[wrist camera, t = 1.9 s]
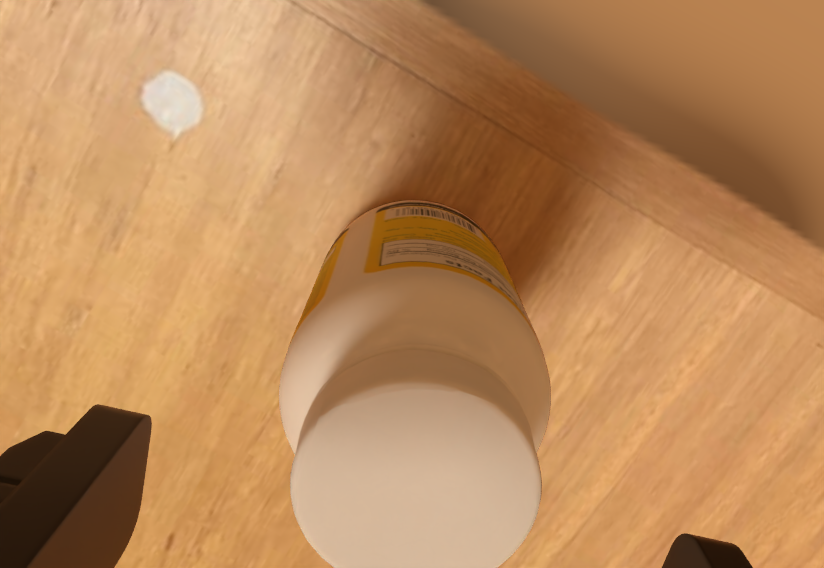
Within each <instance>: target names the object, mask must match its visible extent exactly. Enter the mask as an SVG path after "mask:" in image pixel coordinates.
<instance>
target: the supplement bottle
mask: <svg viewBox="0 0 824 568" xmlns="http://www.w3.org/2000/svg"><path fill="white" fill-rule="evenodd" d="M279 405H280V413H281V419H282V424H283V427H284V431H285V434H286V437H287V439H288V442H289V444H290V446H291V448H292V450H293V452H294V454H295V457H294V460H293V464H292V470H291V478H290V490H291V500H292V506H293V510H294V513H295V516H296V519H297V522H298V524H299V526H300V528H301V530H302V532H303V534H304V536H305V538H306V539H307V540H308V542H309V543H310V544H311V546H312V547H313V548H314V549H315V551H316V552H317V553H318V554H319V555H320V556H321V557H322V558H323V559H324V560H325V561H327V562H328V563H329V564H330V565H331V566H333V567H334V568H497V567H499V566H500V565H501V564H502V563H504V562H505V561H506V560H507V559H508V558H510V557H511V556H512V554H513V553H514V552H515V551H516V550H517V549H518V548H519V546H520V545H521V544H522V543H523V541H524V540H525V538H526V536H527V535H528V533H529V532H530V530H531V528H532V526H533V524H534V521H535V519H536V516H537V513H538V509H539V504H540V500H541V488H542V480H541V471H540V466H539V461H538V457H537V451H538V449H539V447H540V445H541V443H542V440H543V437H544V435H545V432H546V428H547V424H548V420H549V413H550V406H551V387H550V379H549V373H548V369H547V365H546V362H545V358H544V354H543V351H542V348H541V346H540V343H539V341H538V338H537V336H536V333H535V331H534V329H533V327H532V325H531V323H530V320H529V318H528V316H527V313H526V311H525V309H524V307H523V304H522V302H521V300H520V298H519V295H518V293H517V291H516V289H515V286H514V284H513V282H512V280H511V277H510V275H509V273H508V270H507V268H506V266H505V264H504V261H503V259H502V257H501V255H500V253H499V251H498V250H497V248H496V247H495V245H494V244H493V242H492V241H491V239H490V238H489V237H488V235H487V234H486V233H485V232H484V231H483V230H482V229H481V227H480V226H478V225H477V224H476V223H475V222H474V221H473V220H471V219H470V218H469V217H467V216H466V215H464V214H463V213H461V212H459V211H457V210H455V209H453V208H450V207H448V206H446V205H442V204H439V203H434V202H429V201H421V200H404V201H398V202H392V203H388V204H385V205H382V206H379V207H376V208H374V209H372V210H370V211H368V212H366V213H364V214H363V215H361V216H360V217H358V218H357V219H355V220H354V221H353V222H352V223H351V224H350V225H348V227H347V228H346V229H345V230H344V231H343V232H342V233H341V234H340V235H339V237H338V238H337V239H336V241H335V242H334V244H333V245H332V247H331V249H330V251H329V252H328V254H327V256H326V258H325V260H324V263H323V265H322V267H321V270H320V272H319V275H318V277H317V280H316V282H315V284H314V287H313V289H312V292H311V294H310V297H309V299H308V301H307V304H306V306H305V309H304V311H303V313H302V316H301V318H300V321H299V323H298V325H297V327H296V330H295V332H294V335H293V337H292V339H291V342H290V345H289V348H288V351H287V354H286V357H285V361H284V364H283V368H282V373H281V379H280V386H279Z"/></svg>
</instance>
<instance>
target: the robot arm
mask: <svg viewBox="0 0 824 568" xmlns="http://www.w3.org/2000/svg"><path fill="white" fill-rule="evenodd" d="M151 424H152V423H151V417H150V416H149V415H145V414H140V413H136V412H131V411H126V410H122V409H117V408H113V407H108V406H103V405H99V404H97V405H95V406H93V407H92V408H91V409H90V410H89V411H88V412H87V413H86V414H85V415H84V416H83V417H82V418H81V419H80V420H79V421H78V422H77V423H76V424H75V425H74V427H73V428H72V429H71V430H70V431H69V432H68V433H67V434H66V435H64V434H59V433H55V432H50V431H44V432H42V433H40V434H38V435H36V436H34V437H31V438H29V439H27V440H25V441H23V442H21V443H19V444H16V445H14V446H12V447H10V448H8V449H7V450H6V451H5V452H4V453H3V454H2V455H1V456H0V568H114V567H115V565H116V564H117V562H118V560H119V559H120V557H121V555H122V554H123V552H124V550H125V548H126V547H127V545H128V543H129V540H130V538H131V536H132V533H133V531H134V528H135V525H136V522H137V518H138V515H139V511H140V506H141V500H142V493H143V486H144V478H145V471H146V464H147V457H148V450H149V443H150V435H151ZM662 568H753V567H752V566H751V564H750V563H749V561H748V560H747V558H746V557H745V555H744V554H743V552H742V551H741V550H740V548H739V547H737V546H736V545H734V544H732V543H728V542H723V541H718V540H714V539H709V538H705V537H700V536H695V535H691V534H681V535H679V536H678V537H677V538H676V539H675V541H674V542H673V544H672V546H671V548H670V551H669V553H668V555H667V557H666V560H665V562H664V564H663V566H662Z"/></svg>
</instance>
